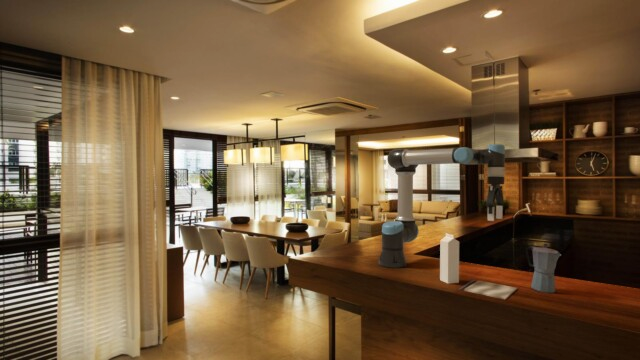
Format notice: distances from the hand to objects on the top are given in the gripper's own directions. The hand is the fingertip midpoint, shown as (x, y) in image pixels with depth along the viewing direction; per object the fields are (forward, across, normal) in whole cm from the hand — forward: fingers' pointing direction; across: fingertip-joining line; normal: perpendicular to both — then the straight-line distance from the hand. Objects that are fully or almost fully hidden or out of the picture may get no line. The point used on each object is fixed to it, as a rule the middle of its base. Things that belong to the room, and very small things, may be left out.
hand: (495, 219), depth 170 cm
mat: (+28, -23, -4) cm, 36 cm away
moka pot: (+28, -7, -21) cm, 36 cm away
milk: (+28, -23, +13) cm, 39 cm away
